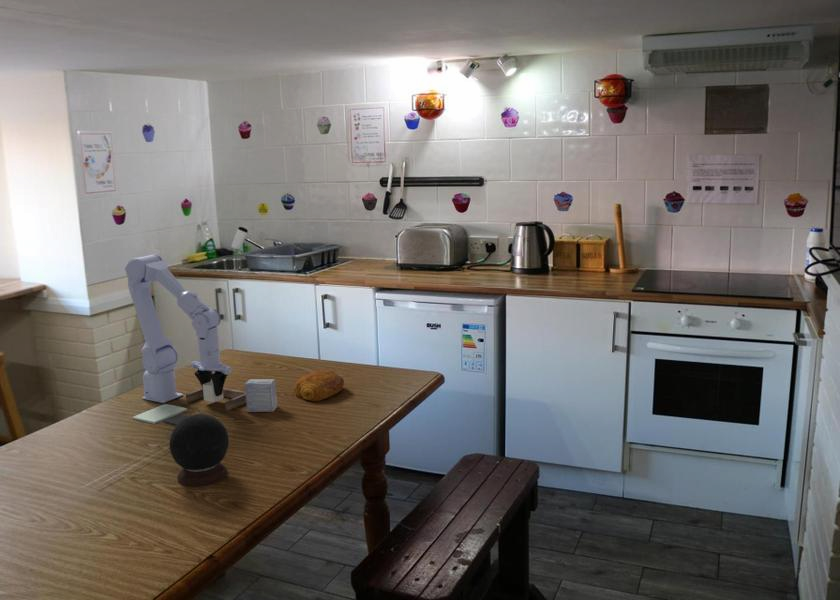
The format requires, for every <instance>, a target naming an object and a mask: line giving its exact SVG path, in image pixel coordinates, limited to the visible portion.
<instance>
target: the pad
mask: <svg viewBox="0 0 840 600" xmlns="http://www.w3.org/2000/svg"><path fill="white" fill-rule="evenodd" d="M187 411H188V408H187V407H182V406H178V405H173V404H166V403H163V404H162V405H161V404H160V405H159V406H157V407H154V408H152V409H150V410H147V411H144V412H142V413H140V414H137V415H134V416H132V418H131V419H132V420H134V421H135V420H136V421H138V422H139V421H140V422H145V423H148V424H153V425H156V424H159V423H160V422H162V421H163V422H164V421H165V420H168V419H170V418H172V417H175V416H177V415H180V414H182V413H184V412H187Z"/></svg>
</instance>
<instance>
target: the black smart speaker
mask: <svg viewBox="0 0 840 600" xmlns="http://www.w3.org/2000/svg"><path fill="white" fill-rule="evenodd" d="M187 416H188V417H186V418H184V419H183V420H182V421H181V422H179V423H178V424H177V425H175V427H174V428H173V430H172V432H171V434H170V438H169V451H170V455H171V456H172V458H173V460H174V462H175V463H176V464H177V465H178V466H180V468H182V469H181V470H180V471H179V473H178V474H177V477H176V478H177V482H178V484H179V485H181V486H183V487H187V488H203V487H208V486H211V485H215V484H217V483H220V482H221V481H223V480H224V479H225V478H227V476H228V468H227V467H226V466H225V465H224V464H223V462H222V461H223V459H224V458H225V456H226V455H227V452H228V449H229V441H230V440H229V434H228V431H227V429H226V427H225V425H224V424H223V423H222V422H221V421H220V420H219V419H218V418H216V417H214V416H212V415H210V414H205V413H196V414H191V415H187ZM221 462H222V463H221Z"/></svg>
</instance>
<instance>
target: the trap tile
mask: <svg viewBox="0 0 840 600" xmlns="http://www.w3.org/2000/svg"><path fill="white" fill-rule="evenodd" d="M188 416H189V415H185V414H182V413H180V414H177V415H175V416H172V417H170V418H168V419H165V420H163V423H164V424H169V425H173V426H176V425H177V424H178V423H179V422H181V421H182V420H183V419H184V418H186V417H188Z"/></svg>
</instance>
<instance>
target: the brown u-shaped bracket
mask: <svg viewBox="0 0 840 600" xmlns="http://www.w3.org/2000/svg"><path fill="white" fill-rule="evenodd" d="M185 397H186V403H187V404H189V403H191V402H194V401H197V400H199V399H201V398H204V395H203V388H202V387H201V388H198V389H196V390H194V391H191V392H188V393H185ZM223 397H224V398H226V399H227V398H228V400H226V401H224V403H225V404H224V405H225V411H228V412H229V411H232V410H233V409H235V408H237V407H239V406H242V405H244V404H246V392H245V390H244V391H243V390H237V389H232V388H228V387H227V388H226V387H223Z"/></svg>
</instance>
